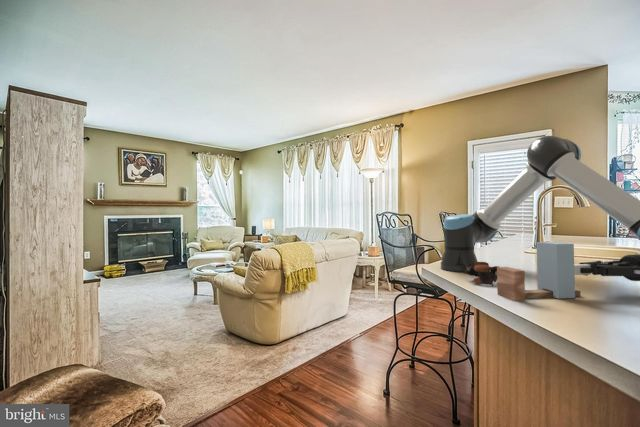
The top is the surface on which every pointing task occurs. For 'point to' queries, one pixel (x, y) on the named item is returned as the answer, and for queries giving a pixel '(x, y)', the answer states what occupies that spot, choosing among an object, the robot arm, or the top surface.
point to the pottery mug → (482, 273)
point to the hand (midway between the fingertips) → (566, 270)
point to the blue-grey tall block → (556, 268)
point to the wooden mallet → (518, 285)
